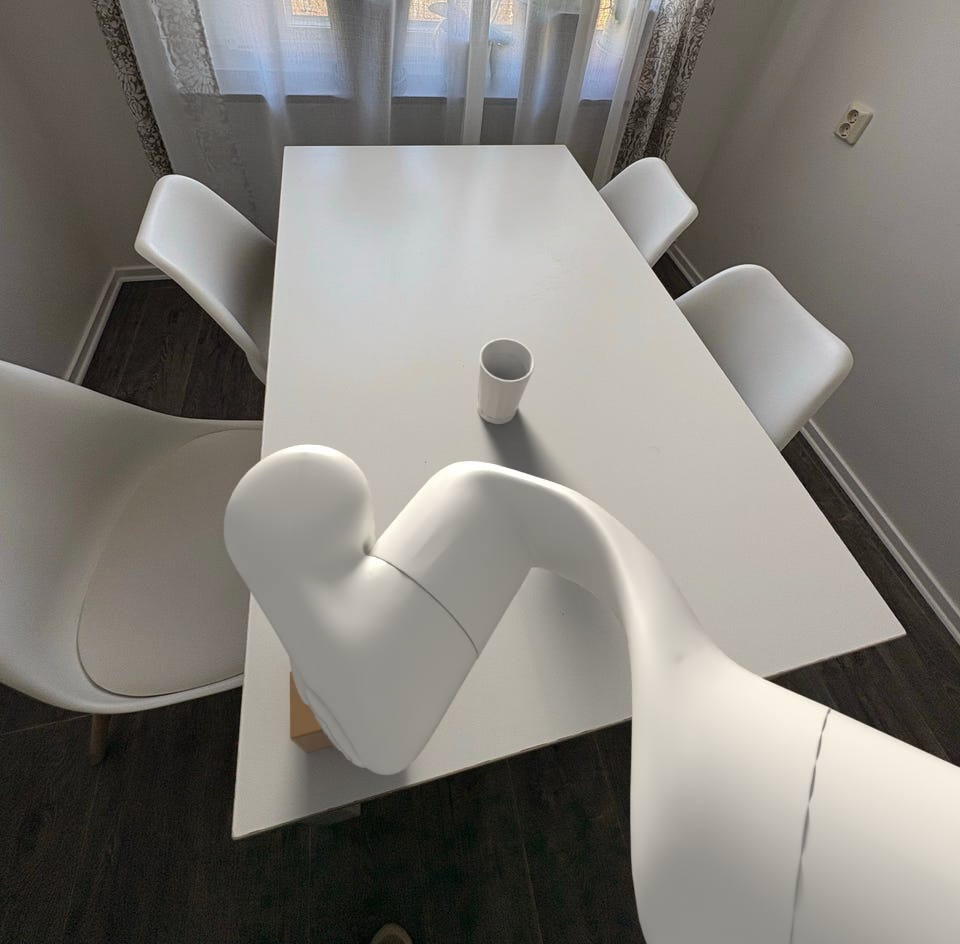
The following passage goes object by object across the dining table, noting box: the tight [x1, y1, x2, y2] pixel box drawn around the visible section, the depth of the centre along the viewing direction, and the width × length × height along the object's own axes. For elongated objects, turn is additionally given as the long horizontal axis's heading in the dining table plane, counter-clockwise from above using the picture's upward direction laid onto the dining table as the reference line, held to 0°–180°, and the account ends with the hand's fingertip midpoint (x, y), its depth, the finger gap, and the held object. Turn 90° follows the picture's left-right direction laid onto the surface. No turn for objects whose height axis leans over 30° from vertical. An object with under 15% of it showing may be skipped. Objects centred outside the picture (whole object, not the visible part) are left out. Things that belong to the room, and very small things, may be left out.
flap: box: [289, 671, 322, 739], centre depth 48 cm, size 5×10×1 cm, turn 104°
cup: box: [476, 337, 536, 425], centre depth 80 cm, size 8×8×12 cm
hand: (345, 648), depth 48 cm, fingers closed
